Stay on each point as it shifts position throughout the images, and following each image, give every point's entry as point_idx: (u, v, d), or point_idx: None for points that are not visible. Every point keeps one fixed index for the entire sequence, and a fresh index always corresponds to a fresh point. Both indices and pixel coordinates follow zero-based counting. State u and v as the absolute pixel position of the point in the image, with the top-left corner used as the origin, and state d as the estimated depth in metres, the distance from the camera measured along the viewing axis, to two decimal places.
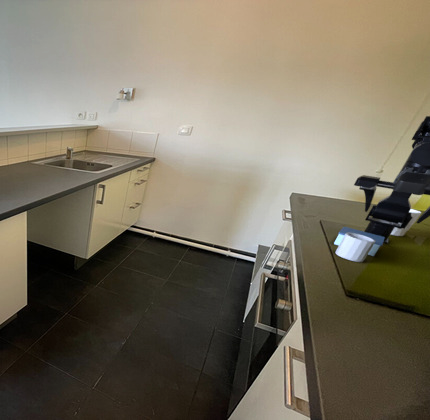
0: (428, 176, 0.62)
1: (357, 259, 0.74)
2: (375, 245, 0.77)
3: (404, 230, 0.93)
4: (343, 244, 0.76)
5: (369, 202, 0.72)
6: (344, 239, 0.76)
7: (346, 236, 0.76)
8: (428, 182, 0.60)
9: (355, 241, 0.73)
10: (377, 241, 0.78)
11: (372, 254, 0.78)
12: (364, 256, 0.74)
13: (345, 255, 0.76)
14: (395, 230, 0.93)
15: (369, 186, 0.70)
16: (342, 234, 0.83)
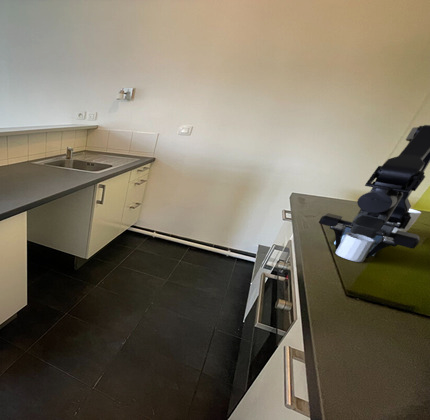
0: (380, 221, 0.68)
1: (357, 259, 0.74)
2: None
3: (404, 230, 0.93)
4: (343, 244, 0.76)
5: (339, 241, 0.77)
6: (344, 239, 0.76)
7: (346, 236, 0.76)
8: (379, 227, 0.67)
9: (355, 241, 0.73)
10: (377, 241, 0.78)
11: None
12: (364, 256, 0.73)
13: (345, 255, 0.76)
14: (395, 230, 0.93)
15: (331, 225, 0.77)
16: None
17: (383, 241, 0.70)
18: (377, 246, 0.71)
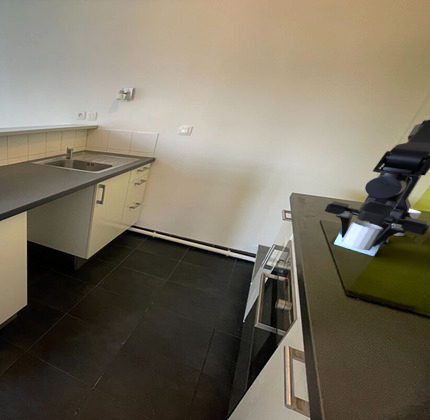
0: (388, 207, 0.67)
1: (364, 247, 0.72)
2: None
3: None
4: (350, 232, 0.75)
5: (345, 229, 0.76)
6: (351, 227, 0.75)
7: (353, 224, 0.74)
8: (387, 213, 0.65)
9: (362, 229, 0.72)
10: None
11: (372, 254, 0.78)
12: (371, 244, 0.72)
13: (352, 243, 0.74)
14: None
15: (337, 213, 0.75)
16: None
17: (391, 228, 0.68)
18: (385, 233, 0.70)
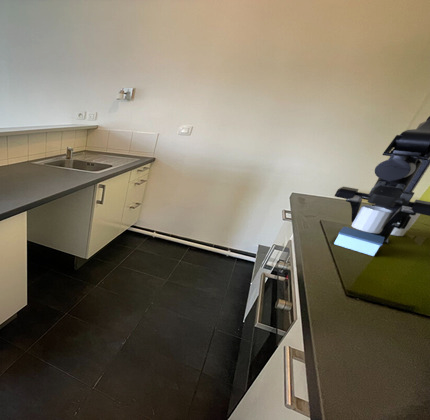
0: (398, 190, 0.68)
1: (374, 230, 0.74)
2: (375, 245, 0.77)
3: (404, 230, 0.93)
4: (360, 216, 0.76)
5: (355, 213, 0.77)
6: (361, 211, 0.76)
7: (363, 208, 0.75)
8: (397, 196, 0.67)
9: (372, 212, 0.73)
10: (377, 241, 0.78)
11: (372, 254, 0.78)
12: (381, 227, 0.73)
13: (362, 227, 0.75)
14: (395, 230, 0.93)
15: (347, 198, 0.77)
16: (342, 234, 0.83)
17: (401, 211, 0.69)
18: (395, 216, 0.71)
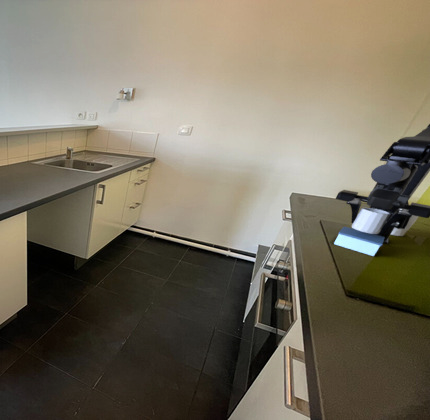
0: (395, 193, 0.73)
1: (373, 231, 0.78)
2: (375, 245, 0.77)
3: (404, 230, 0.93)
4: (359, 218, 0.81)
5: (355, 215, 0.82)
6: (360, 213, 0.81)
7: (362, 210, 0.80)
8: (395, 198, 0.71)
9: (371, 214, 0.78)
10: (377, 241, 0.78)
11: (372, 254, 0.78)
12: (380, 228, 0.78)
13: (361, 228, 0.80)
14: (395, 230, 0.93)
15: (348, 200, 0.81)
16: (342, 234, 0.83)
17: (398, 213, 0.74)
18: (392, 218, 0.76)
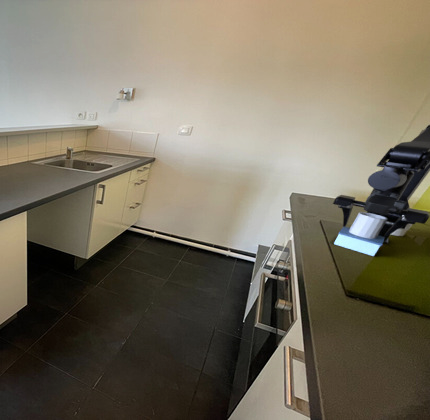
0: (392, 199, 0.73)
1: (370, 236, 0.79)
2: (375, 245, 0.77)
3: (404, 230, 0.93)
4: (357, 223, 0.81)
5: (346, 218, 0.83)
6: (357, 218, 0.81)
7: (359, 215, 0.81)
8: (391, 204, 0.72)
9: (368, 219, 0.78)
10: (377, 241, 0.78)
11: (372, 254, 0.78)
12: (377, 233, 0.79)
13: (358, 233, 0.81)
14: None
15: (345, 205, 0.82)
16: (342, 234, 0.83)
17: (402, 220, 0.74)
18: (396, 225, 0.75)
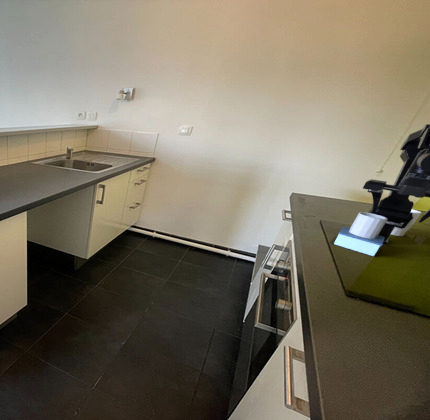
0: (429, 181, 0.70)
1: (370, 236, 0.79)
2: (375, 245, 0.77)
3: (404, 230, 0.93)
4: (357, 223, 0.81)
5: (376, 203, 0.81)
6: (357, 218, 0.81)
7: (359, 215, 0.81)
8: (428, 186, 0.69)
9: (368, 219, 0.78)
10: (377, 241, 0.78)
11: (372, 254, 0.78)
12: (377, 233, 0.79)
13: (358, 233, 0.81)
14: (395, 230, 0.93)
15: (376, 189, 0.79)
16: (342, 234, 0.83)
17: None
18: None
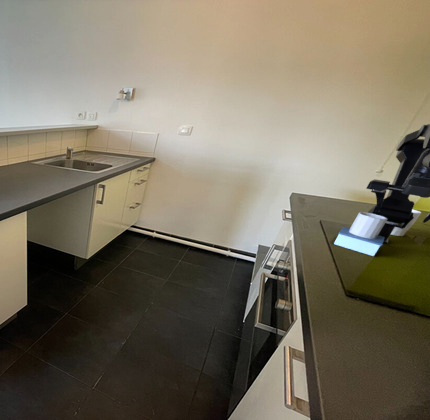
0: None
1: (370, 236, 0.79)
2: (375, 245, 0.77)
3: (404, 230, 0.93)
4: (357, 223, 0.81)
5: (380, 204, 0.80)
6: (357, 218, 0.81)
7: (359, 215, 0.81)
8: None
9: (368, 219, 0.78)
10: (377, 241, 0.78)
11: (372, 254, 0.78)
12: (377, 233, 0.79)
13: (358, 233, 0.81)
14: (395, 230, 0.93)
15: (380, 190, 0.78)
16: (342, 234, 0.83)
17: None
18: None
